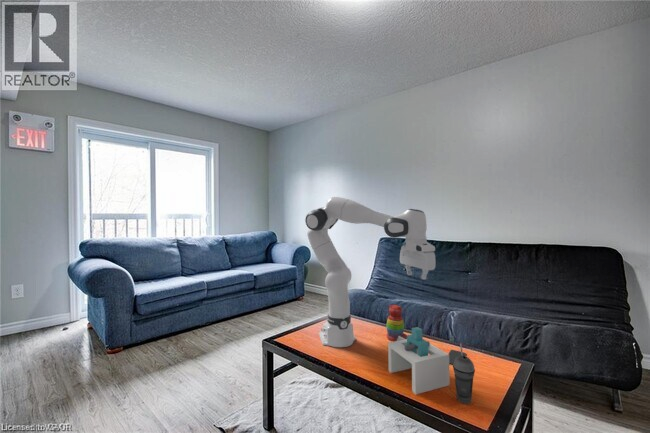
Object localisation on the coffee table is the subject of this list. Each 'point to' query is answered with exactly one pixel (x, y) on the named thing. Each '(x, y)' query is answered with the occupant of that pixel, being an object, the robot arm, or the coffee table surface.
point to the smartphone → (454, 355)
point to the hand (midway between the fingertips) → (416, 277)
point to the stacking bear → (395, 324)
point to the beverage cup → (463, 377)
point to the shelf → (420, 365)
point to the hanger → (418, 342)
